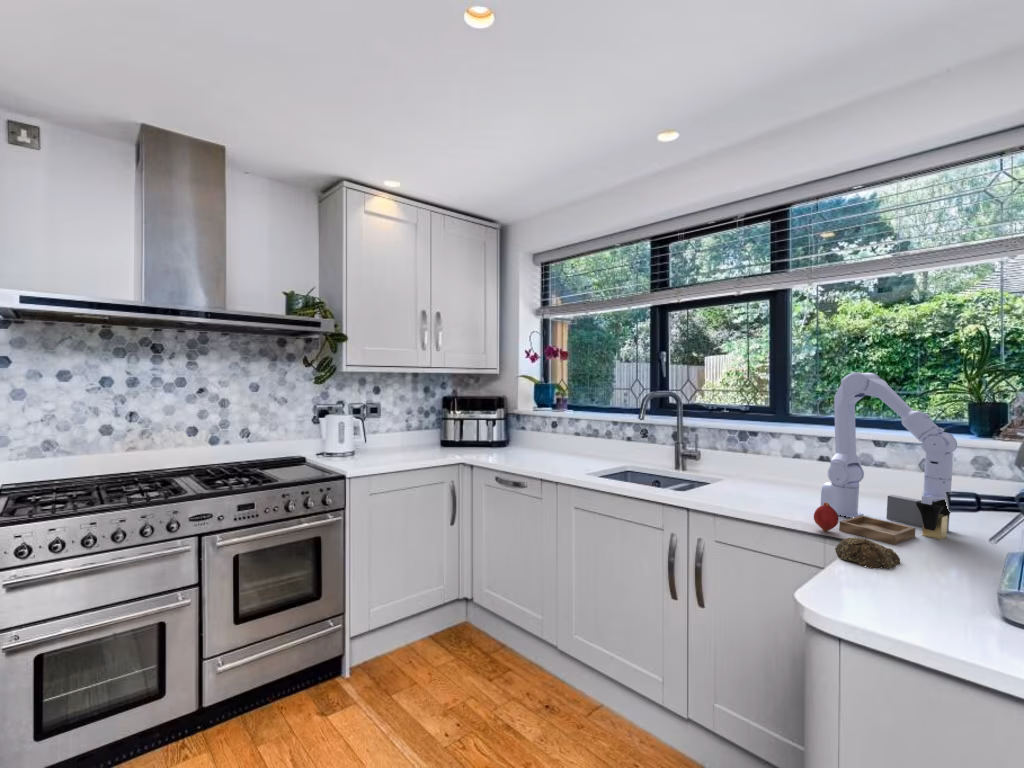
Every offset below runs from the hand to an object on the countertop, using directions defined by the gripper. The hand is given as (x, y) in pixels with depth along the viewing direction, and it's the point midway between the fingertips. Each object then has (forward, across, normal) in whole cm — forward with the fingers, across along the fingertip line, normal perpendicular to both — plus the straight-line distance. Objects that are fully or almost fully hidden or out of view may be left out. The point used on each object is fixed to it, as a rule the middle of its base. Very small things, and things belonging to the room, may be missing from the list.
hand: (935, 527), depth 138 cm
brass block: (+2, 0, 0) cm, 3 cm away
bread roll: (+3, -37, +2) cm, 37 cm away
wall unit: (+2, +9, +7) cm, 12 cm away
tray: (+2, -12, +9) cm, 15 cm away
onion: (+3, -23, +17) cm, 29 cm away
